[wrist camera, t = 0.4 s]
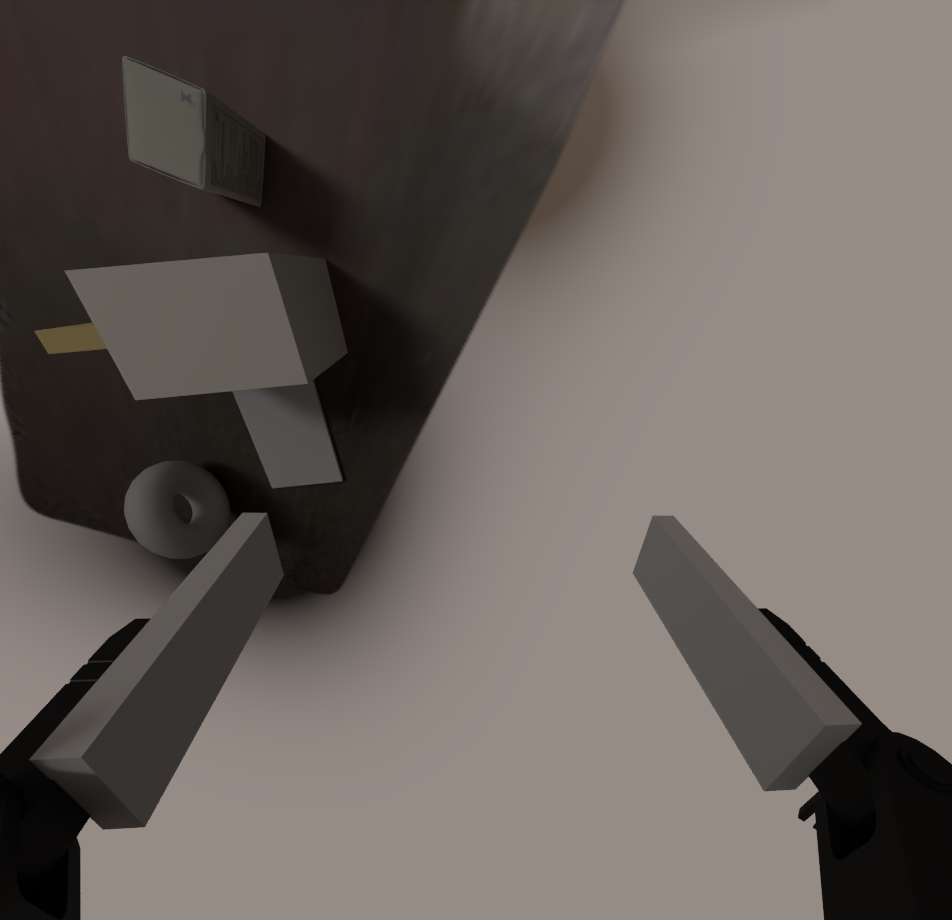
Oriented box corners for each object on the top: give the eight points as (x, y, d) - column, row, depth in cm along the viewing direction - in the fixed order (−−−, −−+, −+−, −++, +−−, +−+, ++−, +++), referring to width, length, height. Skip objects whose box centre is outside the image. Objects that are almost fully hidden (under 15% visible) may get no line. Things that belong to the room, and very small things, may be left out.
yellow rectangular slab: (125, 318, 32) (34, 330, 25) (247, 306, 33) (190, 316, 26) (134, 336, 33) (48, 354, 26) (253, 325, 33) (200, 339, 26)
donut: (169, 449, 38) (84, 502, 30) (198, 440, 38) (121, 491, 29) (225, 520, 43) (166, 584, 34) (251, 513, 43) (199, 575, 34)
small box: (206, 107, 26) (117, 48, 19) (268, 134, 27) (205, 87, 20) (205, 187, 28) (124, 160, 21) (262, 210, 29) (203, 190, 22)
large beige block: (176, 272, 31) (50, 272, 21) (325, 258, 31) (267, 252, 21) (215, 365, 35) (123, 401, 25) (347, 352, 35) (307, 383, 25)
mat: (232, 384, 36) (230, 385, 35) (312, 376, 36) (311, 377, 35) (273, 486, 41) (272, 488, 41) (343, 479, 41) (342, 481, 41)
